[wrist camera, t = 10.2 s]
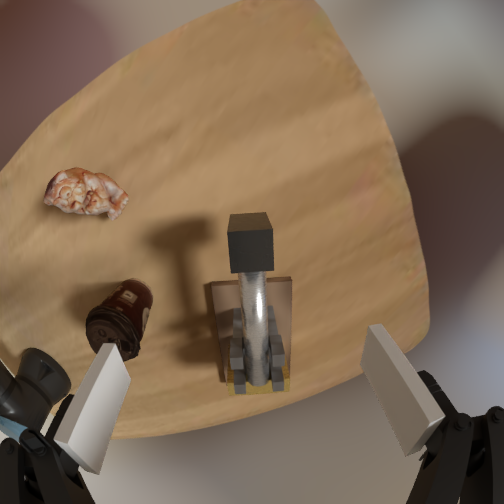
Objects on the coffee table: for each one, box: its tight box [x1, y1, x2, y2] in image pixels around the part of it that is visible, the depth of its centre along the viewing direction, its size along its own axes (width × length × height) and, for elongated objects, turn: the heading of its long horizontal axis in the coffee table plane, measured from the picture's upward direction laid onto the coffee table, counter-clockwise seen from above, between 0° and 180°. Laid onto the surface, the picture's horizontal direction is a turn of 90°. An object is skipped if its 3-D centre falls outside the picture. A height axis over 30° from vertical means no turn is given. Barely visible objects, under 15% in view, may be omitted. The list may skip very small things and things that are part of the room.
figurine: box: [44, 168, 129, 220], centre depth 29 cm, size 6×8×15 cm
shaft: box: [227, 212, 274, 387], centre depth 31 cm, size 4×22×7 cm, turn 3°
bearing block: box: [211, 277, 292, 394], centre depth 40 cm, size 12×22×13 cm, turn 3°
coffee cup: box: [86, 279, 153, 362], centre depth 36 cm, size 9×8×13 cm
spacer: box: [227, 344, 290, 396], centre depth 41 cm, size 9×3×9 cm, turn 93°
